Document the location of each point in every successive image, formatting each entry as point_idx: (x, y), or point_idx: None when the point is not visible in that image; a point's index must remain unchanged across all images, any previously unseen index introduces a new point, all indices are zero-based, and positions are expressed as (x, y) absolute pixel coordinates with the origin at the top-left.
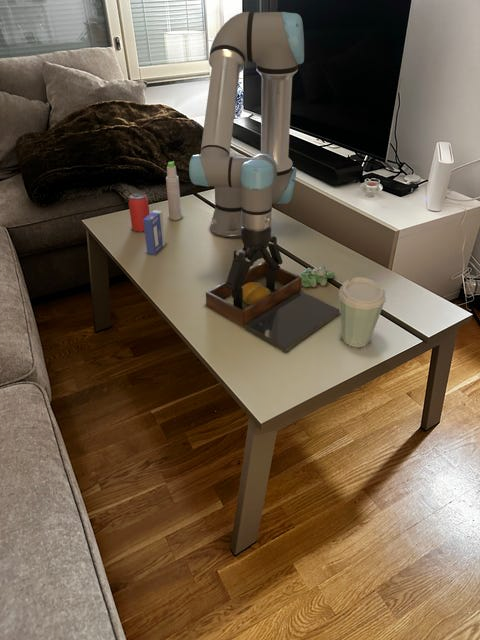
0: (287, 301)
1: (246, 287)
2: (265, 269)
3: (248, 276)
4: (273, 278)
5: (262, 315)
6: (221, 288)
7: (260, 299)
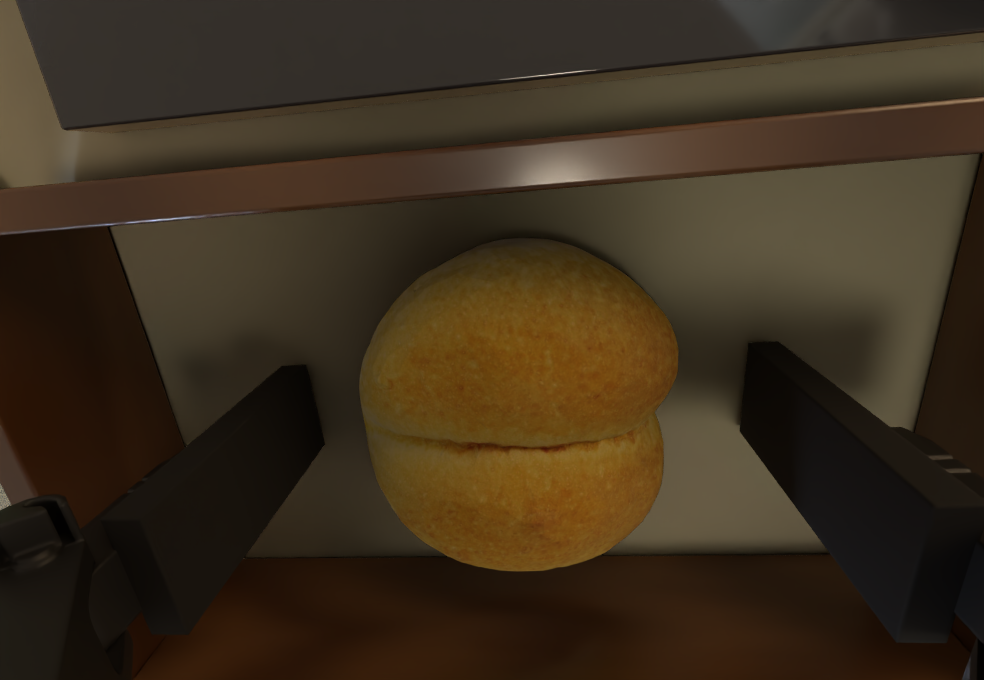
0: (329, 58)
1: (591, 524)
2: None
3: (397, 634)
4: (224, 444)
5: (806, 28)
6: (800, 664)
7: (594, 281)
